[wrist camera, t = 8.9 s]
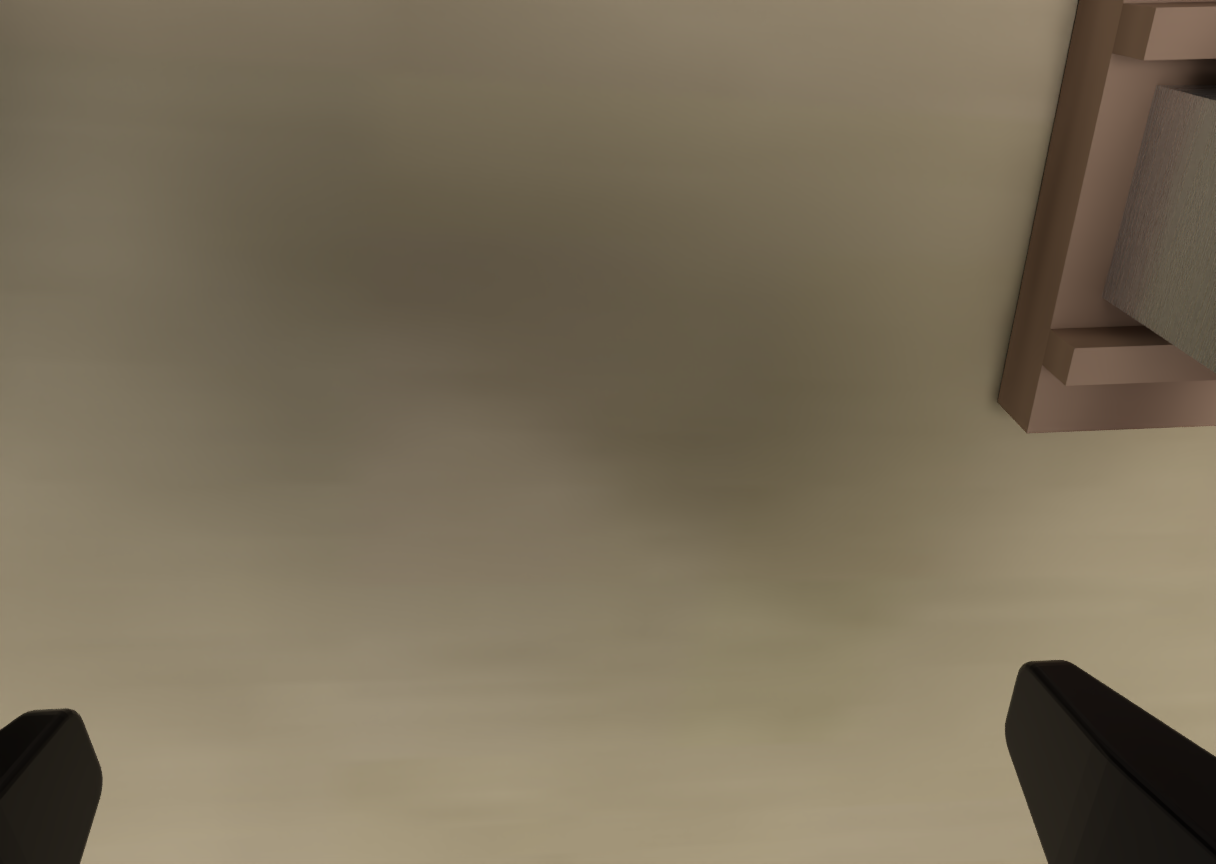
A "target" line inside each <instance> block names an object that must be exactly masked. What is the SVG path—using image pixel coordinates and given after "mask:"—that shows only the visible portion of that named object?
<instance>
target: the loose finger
mask: <svg viewBox="0 0 1216 864" xmlns="http://www.w3.org/2000/svg"><path fill="white" fill-rule="evenodd" d="M1102 298H1104V299H1105V300H1107V301H1108V302H1110V303H1111V304H1113V305H1114V306H1116V307H1117V308H1119V309H1120V310H1122V311H1123V312H1125V313H1126V314H1128V315H1129V316H1131V317H1132V318H1134V319H1135V320H1137V321H1138V322H1140V323H1141V324H1143V325H1144V326H1146V327H1147V328H1149V329H1150V330H1152V331H1153V332H1155V333H1156V334H1158V335H1159V336H1161V337H1162V338H1164V339H1165V340H1167V341H1168V342H1170V343H1171V344H1173V345H1174V346H1176V347H1177V348H1179V349H1180V350H1182V351H1183V352H1185V353H1186V354H1188V355H1189V356H1191V357H1192V358H1194V359H1195V360H1197V361H1198V362H1200V363H1201V364H1203V365H1204V366H1206V367H1207V368H1209V369H1210V370H1212V371H1213V372H1215V373H1216V84H1213V85H1156V89H1155V93H1154V97H1153V100H1152V104H1151V108H1150V112H1149V116H1148V120H1147V124H1146V128H1145V131H1144V135H1143V139H1142V143H1141V147H1140V151H1139V155H1138V159H1137V162H1136V166H1135V170H1134V174H1133V178H1132V182H1131V186H1130V190H1129V194H1128V197H1127V201H1126V205H1125V209H1124V213H1123V217H1122V221H1121V225H1120V228H1119V232H1118V236H1117V240H1116V244H1115V248H1114V252H1113V256H1112V259H1111V263H1110V267H1109V271H1108V275H1107V279H1106V283H1105V287H1104V290H1103V294H1102Z"/></svg>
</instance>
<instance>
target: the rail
mask: <svg viewBox="0 0 1216 864" xmlns="http://www.w3.org/2000/svg"><path fill="white" fill-rule="evenodd" d="M1213 84H1216V0H1079V4H1078V9H1077V14H1076V19H1075V24H1074V29H1073V33H1072V38H1071V43H1070V48H1069V53H1068V58H1067V63H1066V68H1065V73H1064V78H1063V83H1062V88H1061V92H1060V97H1059V102H1058V107H1057V112H1056V117H1055V122H1054V127H1053V132H1052V137H1051V142H1050V147H1049V151H1048V156H1047V161H1046V166H1045V171H1044V176H1043V181H1042V186H1041V191H1040V196H1039V201H1038V205H1037V210H1036V215H1035V220H1034V225H1033V230H1032V235H1031V240H1030V245H1029V250H1028V255H1027V260H1026V264H1025V269H1024V274H1023V279H1022V284H1021V289H1020V294H1019V299H1018V304H1017V309H1016V314H1015V319H1014V323H1013V328H1012V333H1011V338H1010V343H1009V348H1008V353H1007V358H1006V363H1005V368H1004V373H1003V377H1002V382H1001V387H1000V392H999V397H998V403H999V404H1000V405H1001V406H1002V407H1003V408H1004V409H1005V411H1006V412H1007V413H1008V414H1009V415H1010V416H1011V417H1012V418H1013V419H1014V420H1015V421H1016V422H1017V423H1018V424H1019V425H1020V426H1021V428H1022V429H1023V430H1024V431H1025V432H1026V433H1044V432H1069V431H1094V430H1119V429H1144V428H1169V427H1194V426H1216V373H1215V372H1213V371H1212V370H1210V369H1209V368H1207V367H1206V366H1204V365H1203V364H1201V363H1200V362H1198V361H1197V360H1195V359H1194V358H1192V357H1191V356H1189V355H1188V354H1186V353H1185V352H1183V351H1182V350H1180V349H1179V348H1177V347H1176V346H1174V345H1173V344H1171V343H1170V342H1168V341H1167V340H1165V339H1164V338H1162V337H1161V336H1159V335H1158V334H1156V333H1155V332H1153V331H1152V330H1150V329H1149V328H1147V327H1146V326H1144V325H1143V324H1141V323H1140V322H1138V321H1137V320H1135V319H1134V318H1132V317H1131V316H1129V315H1128V314H1126V313H1125V312H1123V311H1122V310H1120V309H1119V308H1117V307H1116V306H1114V305H1113V304H1111V303H1110V302H1108V301H1107V300H1105V299H1104V298H1102V294H1103V290H1104V287H1105V283H1106V279H1107V275H1108V271H1109V267H1110V263H1111V259H1112V256H1113V252H1114V248H1115V244H1116V240H1117V236H1118V232H1119V228H1120V225H1121V221H1122V217H1123V213H1124V209H1125V205H1126V201H1127V197H1128V194H1129V190H1130V186H1131V182H1132V178H1133V174H1134V170H1135V166H1136V162H1137V159H1138V155H1139V151H1140V147H1141V143H1142V139H1143V135H1144V131H1145V128H1146V124H1147V120H1148V116H1149V112H1150V108H1151V104H1152V100H1153V97H1154V93H1155V89H1156V85H1213Z"/></svg>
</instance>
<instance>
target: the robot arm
mask: <svg viewBox="0 0 1216 864" xmlns="http://www.w3.org/2000/svg"><path fill="white" fill-rule="evenodd" d="M1005 737H1006V743H1007V747H1008V750H1009V753H1010V756H1011V759H1012V762H1013V765H1014V767H1015V770H1016V773H1017V776H1018V779H1019V782H1020V785H1021V787H1022V790H1023V793H1024V796H1025V799H1026V802H1027V805H1028V808H1029V810H1030V813H1031V816H1032V819H1033V822H1034V825H1035V828H1036V830H1037V833H1038V836H1039V839H1040V842H1041V845H1042V848H1043V850H1044V853H1045V856H1046V859H1047V862H1048V864H1216V757H1215V756H1214V755H1212V754H1211V753H1209V752H1208V751H1206V750H1205V749H1203V748H1201V747H1200V746H1198V745H1197V744H1195V743H1194V742H1192V741H1191V740H1189V739H1188V738H1186V737H1185V736H1183V735H1182V734H1180V733H1178V732H1177V731H1175V730H1174V729H1172V728H1171V727H1169V726H1168V725H1166V724H1165V723H1163V722H1162V721H1160V720H1159V719H1157V718H1155V717H1154V716H1152V715H1151V714H1149V713H1148V712H1146V711H1145V710H1143V709H1142V708H1140V707H1139V706H1137V705H1136V704H1134V703H1132V702H1131V701H1129V700H1128V699H1126V698H1125V697H1123V696H1122V695H1120V694H1119V693H1117V692H1116V691H1114V690H1113V689H1111V688H1109V687H1108V686H1106V685H1105V684H1103V683H1102V682H1100V681H1099V680H1097V679H1096V678H1094V677H1093V676H1091V675H1090V674H1088V673H1086V672H1085V671H1083V670H1082V669H1080V668H1079V667H1077V666H1076V665H1074V664H1072V663H1070V662H1068V661H1064V660H1048V661H1030V662H1027V663H1025V664H1024V665H1022V667H1021V668H1020V669H1019V672H1018V675H1017V678H1016V682H1015V686H1014V690H1013V694H1012V698H1011V702H1010V706H1009V710H1008V714H1007V718H1006V723H1005ZM102 779H103V778H102V771H101V767H100V764H99V761H98V759H97V756H96V754H95V751H94V748H93V746H92V743H91V741H90V738H89V735H88V733H87V730H86V728H85V725H84V722H83V720H82V718H81V716H80V715H79V714H78V713H77V712H76V711H74V710H72V709H46V710H33V711H29V712H26V713H24V714H22V715H21V716H19V717H18V718H16V719H15V720H13V721H12V722H11V723H9V724H8V725H6V726H5V727H4V728H2V729H1V730H0V864H80V862H81V859H82V856H83V852H84V849H85V846H86V842H87V839H88V836H89V833H90V829H91V826H92V823H93V820H94V816H95V813H96V810H97V806H98V803H99V800H100V796H101V791H102Z"/></svg>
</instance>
